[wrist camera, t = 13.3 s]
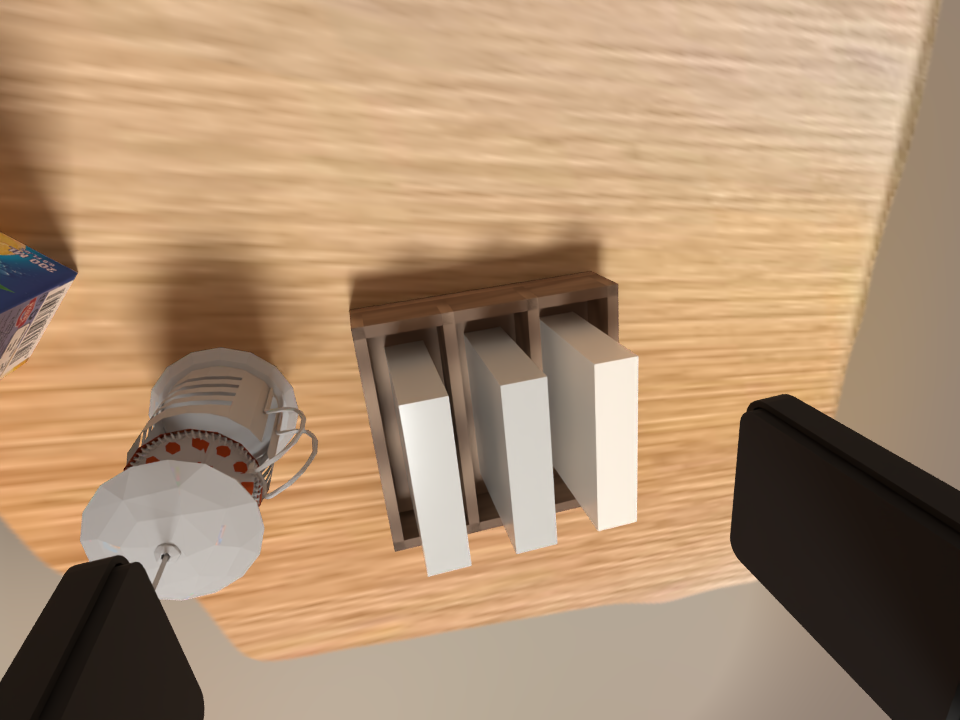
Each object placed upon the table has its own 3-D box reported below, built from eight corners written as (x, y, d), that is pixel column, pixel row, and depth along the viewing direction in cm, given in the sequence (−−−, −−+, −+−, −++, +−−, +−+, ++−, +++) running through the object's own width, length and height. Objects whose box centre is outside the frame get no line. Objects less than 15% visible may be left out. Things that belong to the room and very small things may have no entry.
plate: (537, 317, 42) (594, 364, 33) (573, 311, 42) (638, 356, 33) (546, 456, 46) (598, 531, 37) (578, 449, 47) (636, 521, 38)
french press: (118, 379, 37) (-222, 739, 14) (286, 317, 38) (215, 559, 16) (193, 493, 41) (17, 917, 18) (343, 433, 42) (352, 762, 20)
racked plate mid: (463, 333, 41) (500, 385, 32) (500, 326, 41) (547, 376, 32) (480, 472, 45) (516, 554, 36) (513, 465, 46) (557, 543, 37)
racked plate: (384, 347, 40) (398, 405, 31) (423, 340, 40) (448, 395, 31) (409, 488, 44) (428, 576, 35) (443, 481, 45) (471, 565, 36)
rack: (349, 310, 39) (350, 328, 35) (590, 271, 43) (618, 284, 38) (389, 515, 46) (394, 551, 42) (596, 468, 49) (620, 497, 45)
